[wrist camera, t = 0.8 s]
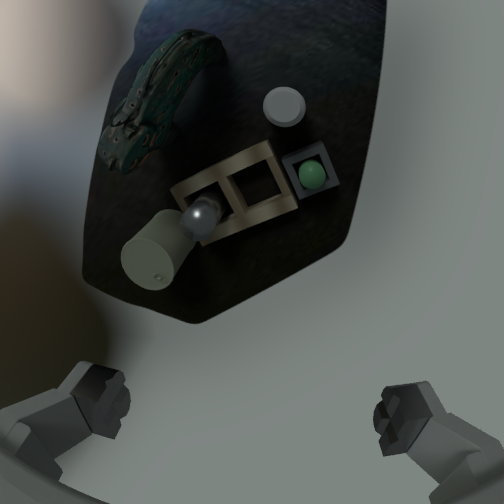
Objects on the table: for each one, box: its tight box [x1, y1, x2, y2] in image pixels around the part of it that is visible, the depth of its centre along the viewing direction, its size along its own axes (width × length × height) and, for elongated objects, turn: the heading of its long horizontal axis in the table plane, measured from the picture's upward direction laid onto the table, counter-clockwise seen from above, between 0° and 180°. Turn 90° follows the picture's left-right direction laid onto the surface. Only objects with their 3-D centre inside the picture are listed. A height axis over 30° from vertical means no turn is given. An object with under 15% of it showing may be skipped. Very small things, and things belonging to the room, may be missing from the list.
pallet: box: [170, 140, 298, 246], centre depth 45 cm, size 17×11×3 cm, turn 116°
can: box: [121, 209, 196, 290], centre depth 46 cm, size 9×9×12 cm
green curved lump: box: [98, 29, 225, 175], centre depth 31 cm, size 20×6×20 cm, turn 147°
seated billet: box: [180, 187, 228, 241], centre depth 43 cm, size 5×5×10 cm
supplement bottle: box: [263, 87, 306, 127], centre depth 35 cm, size 5×5×10 cm
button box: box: [282, 141, 339, 200], centre depth 41 cm, size 6×6×4 cm
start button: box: [299, 159, 326, 189], centre depth 39 cm, size 4×4×3 cm
